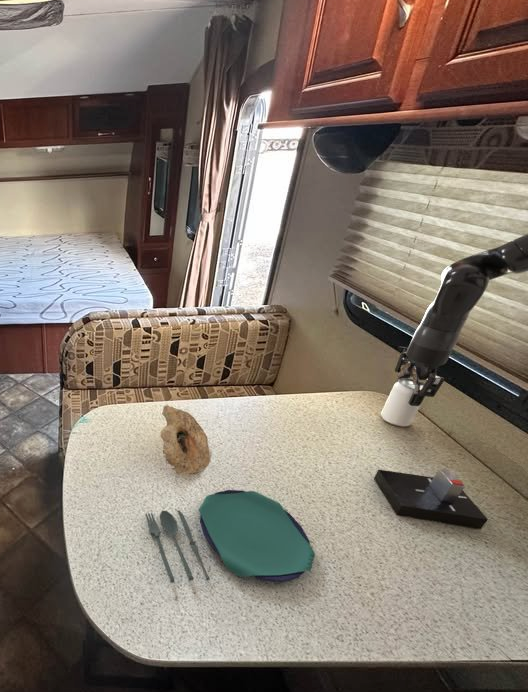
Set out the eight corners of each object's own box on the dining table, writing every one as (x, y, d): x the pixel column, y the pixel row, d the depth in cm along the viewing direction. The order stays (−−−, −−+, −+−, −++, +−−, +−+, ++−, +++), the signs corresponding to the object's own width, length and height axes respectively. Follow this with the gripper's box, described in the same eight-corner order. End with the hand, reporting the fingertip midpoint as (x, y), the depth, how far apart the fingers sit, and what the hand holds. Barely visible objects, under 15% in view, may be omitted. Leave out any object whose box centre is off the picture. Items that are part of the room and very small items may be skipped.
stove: (448, 489, 82) (454, 479, 81) (480, 529, 74) (488, 519, 72) (373, 478, 86) (378, 468, 84) (396, 515, 77) (402, 504, 76)
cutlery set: (335, 582, 66) (339, 575, 65) (170, 596, 65) (171, 589, 64) (269, 492, 84) (272, 485, 83) (139, 502, 83) (140, 495, 82)
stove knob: (428, 485, 80) (439, 467, 78) (440, 486, 79) (451, 469, 77) (441, 501, 76) (453, 483, 74) (453, 503, 76) (465, 485, 73)
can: (408, 416, 104) (426, 381, 98) (412, 430, 99) (431, 393, 94) (378, 409, 107) (394, 375, 101) (381, 422, 102) (398, 386, 97)
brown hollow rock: (206, 487, 93) (223, 477, 87) (152, 478, 92) (165, 466, 86) (195, 424, 105) (208, 410, 99) (146, 415, 104) (157, 401, 98)
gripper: (472, 357, 85) (439, 415, 92) (433, 331, 97) (407, 384, 105) (431, 354, 87) (403, 411, 94) (398, 329, 99) (376, 381, 107)
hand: (405, 397), depth 100 cm, fingers closed on can, 6 cm apart
